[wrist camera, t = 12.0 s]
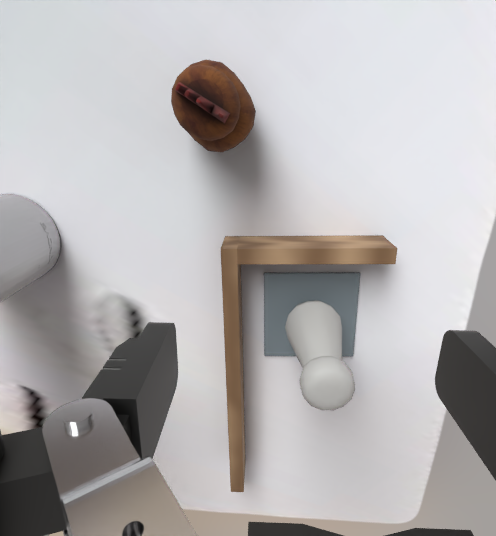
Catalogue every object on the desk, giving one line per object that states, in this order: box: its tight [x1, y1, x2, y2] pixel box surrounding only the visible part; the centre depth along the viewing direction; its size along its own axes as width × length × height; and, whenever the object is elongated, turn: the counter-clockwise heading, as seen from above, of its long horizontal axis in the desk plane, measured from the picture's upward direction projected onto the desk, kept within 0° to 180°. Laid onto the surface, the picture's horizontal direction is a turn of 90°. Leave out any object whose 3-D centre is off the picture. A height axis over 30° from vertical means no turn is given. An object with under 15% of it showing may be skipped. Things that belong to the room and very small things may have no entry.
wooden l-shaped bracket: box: [221, 236, 397, 492], centre depth 42 cm, size 16×30×4 cm, turn 1°
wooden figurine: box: [171, 60, 256, 152], centre depth 28 cm, size 7×6×15 cm
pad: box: [264, 273, 360, 356], centre depth 42 cm, size 10×10×1 cm
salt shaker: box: [285, 300, 355, 410], centre depth 36 cm, size 6×6×13 cm
